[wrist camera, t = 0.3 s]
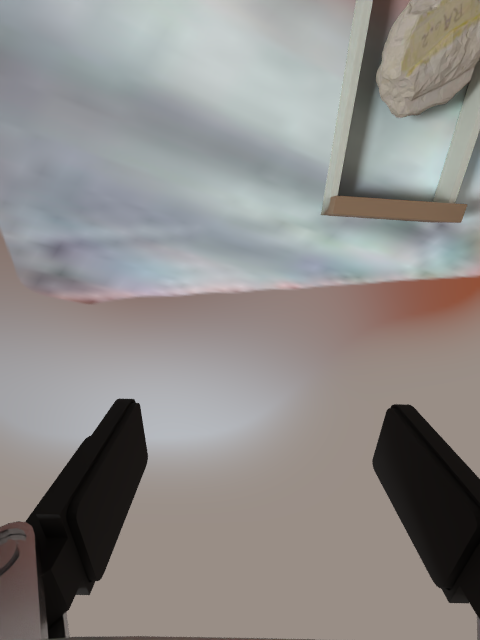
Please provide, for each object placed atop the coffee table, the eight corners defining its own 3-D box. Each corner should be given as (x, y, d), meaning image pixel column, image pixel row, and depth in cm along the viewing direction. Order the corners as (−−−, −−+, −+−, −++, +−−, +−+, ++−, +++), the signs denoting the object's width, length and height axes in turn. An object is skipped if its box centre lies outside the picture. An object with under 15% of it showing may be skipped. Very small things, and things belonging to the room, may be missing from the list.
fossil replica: (481, 47, 29) (413, -10, 28) (571, -32, 21) (480, -117, 20) (409, 150, 32) (345, 102, 31) (463, 116, 24) (378, 49, 23)
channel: (359, -21, 27) (384, -72, 22) (505, -10, 27) (560, -58, 22) (321, 215, 35) (332, 214, 30) (432, 222, 35) (461, 222, 31)
